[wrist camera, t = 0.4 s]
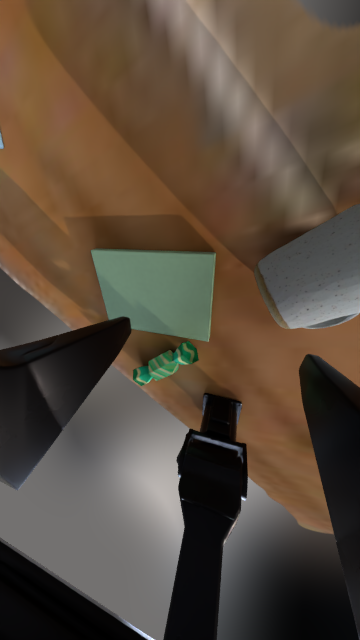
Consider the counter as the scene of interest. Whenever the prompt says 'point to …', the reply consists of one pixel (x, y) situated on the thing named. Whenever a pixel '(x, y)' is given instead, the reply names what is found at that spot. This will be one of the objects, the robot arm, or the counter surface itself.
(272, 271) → the ceramic mug
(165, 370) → the candy
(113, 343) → the robot arm
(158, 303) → the cutting board
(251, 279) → the counter surface
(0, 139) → the gum box
